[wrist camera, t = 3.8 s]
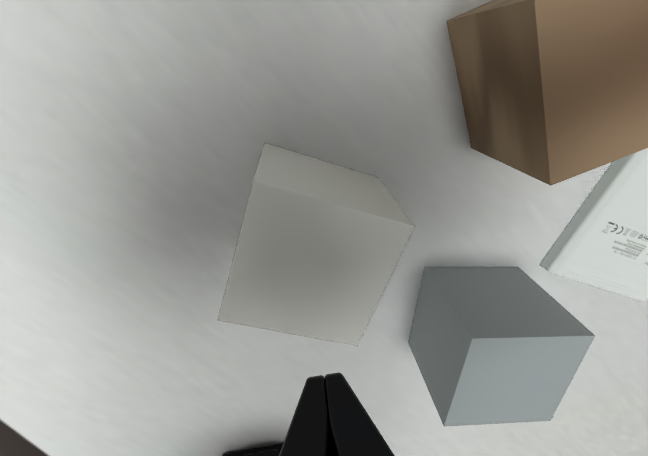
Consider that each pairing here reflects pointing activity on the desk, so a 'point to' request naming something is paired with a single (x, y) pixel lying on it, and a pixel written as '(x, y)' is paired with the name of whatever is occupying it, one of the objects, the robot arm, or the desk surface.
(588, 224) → the external hard drive
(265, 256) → the off-white cube
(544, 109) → the walnut block
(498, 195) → the desk surface
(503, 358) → the slate-grey block
